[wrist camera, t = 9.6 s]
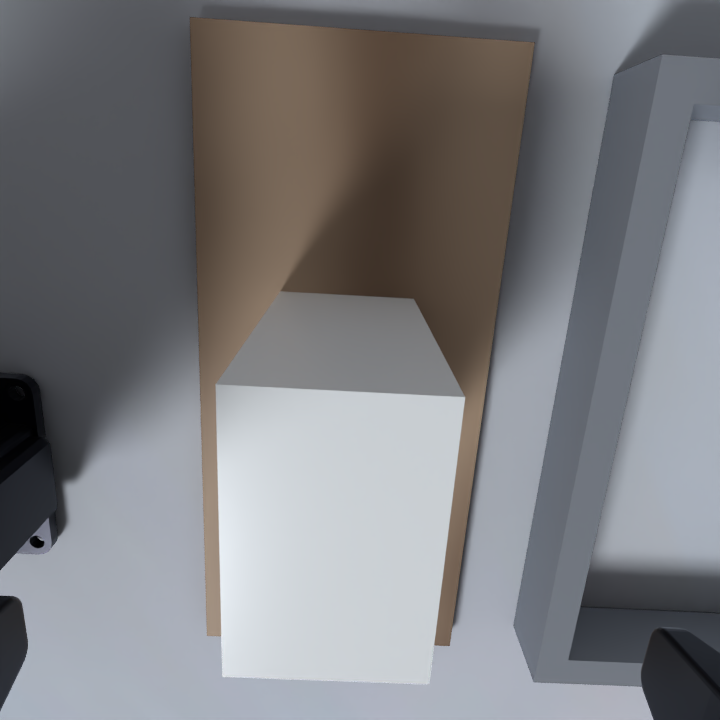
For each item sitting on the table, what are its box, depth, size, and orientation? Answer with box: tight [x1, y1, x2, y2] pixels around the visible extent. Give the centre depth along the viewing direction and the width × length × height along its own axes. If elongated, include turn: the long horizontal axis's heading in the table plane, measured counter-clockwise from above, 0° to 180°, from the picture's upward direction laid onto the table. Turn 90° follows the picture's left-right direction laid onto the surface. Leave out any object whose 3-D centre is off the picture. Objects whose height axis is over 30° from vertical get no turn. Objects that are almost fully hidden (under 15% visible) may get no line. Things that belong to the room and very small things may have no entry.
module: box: [216, 291, 465, 685], centre depth 13 cm, size 4×6×8 cm
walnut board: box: [190, 17, 535, 646], centre depth 18 cm, size 9×20×1 cm, turn 176°
